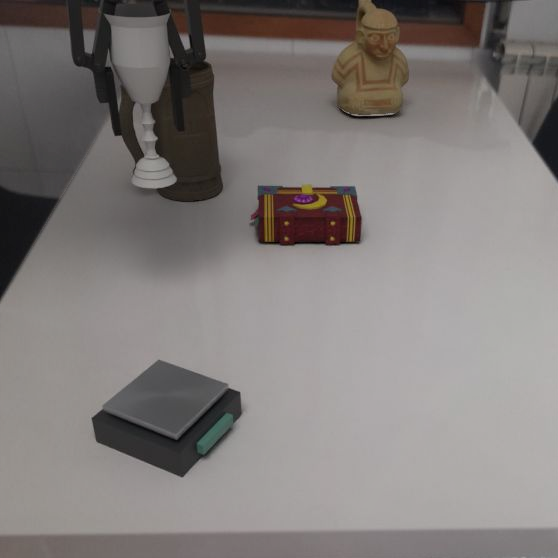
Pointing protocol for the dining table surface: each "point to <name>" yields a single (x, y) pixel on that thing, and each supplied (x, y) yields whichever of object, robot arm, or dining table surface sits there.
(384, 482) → the dining table surface
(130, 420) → the scale pan
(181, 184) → the beer stein
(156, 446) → the scale
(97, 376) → the dining table surface
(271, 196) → the decorative book
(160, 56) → the chalice
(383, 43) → the ceramic vessel
